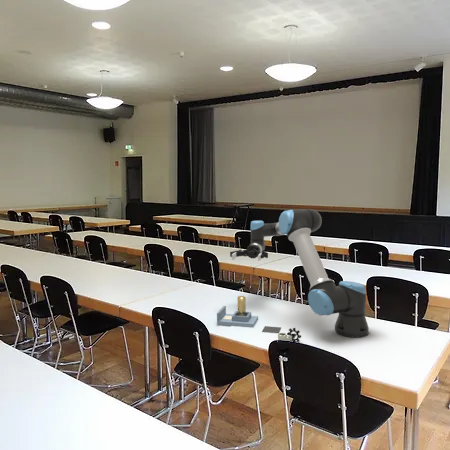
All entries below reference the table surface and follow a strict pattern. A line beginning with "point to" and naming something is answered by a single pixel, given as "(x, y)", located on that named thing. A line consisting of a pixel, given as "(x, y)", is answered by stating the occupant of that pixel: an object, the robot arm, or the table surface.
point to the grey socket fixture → (235, 319)
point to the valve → (284, 336)
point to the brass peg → (241, 306)
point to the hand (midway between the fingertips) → (245, 257)
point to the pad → (271, 329)
